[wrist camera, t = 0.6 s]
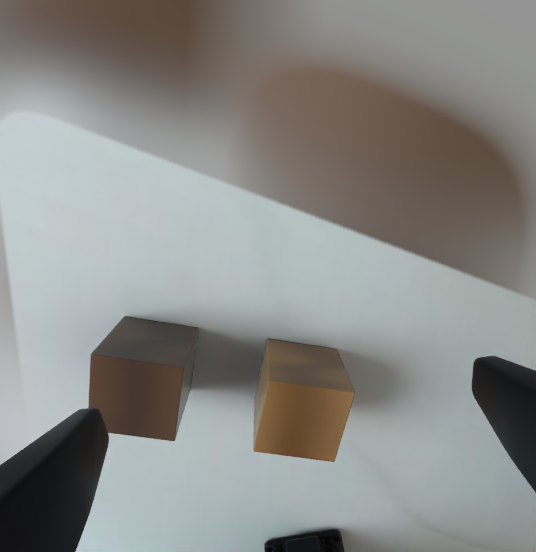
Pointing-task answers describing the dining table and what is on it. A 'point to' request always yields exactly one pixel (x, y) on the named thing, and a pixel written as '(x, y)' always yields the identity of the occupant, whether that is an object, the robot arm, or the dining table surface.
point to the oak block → (301, 401)
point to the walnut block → (143, 377)
